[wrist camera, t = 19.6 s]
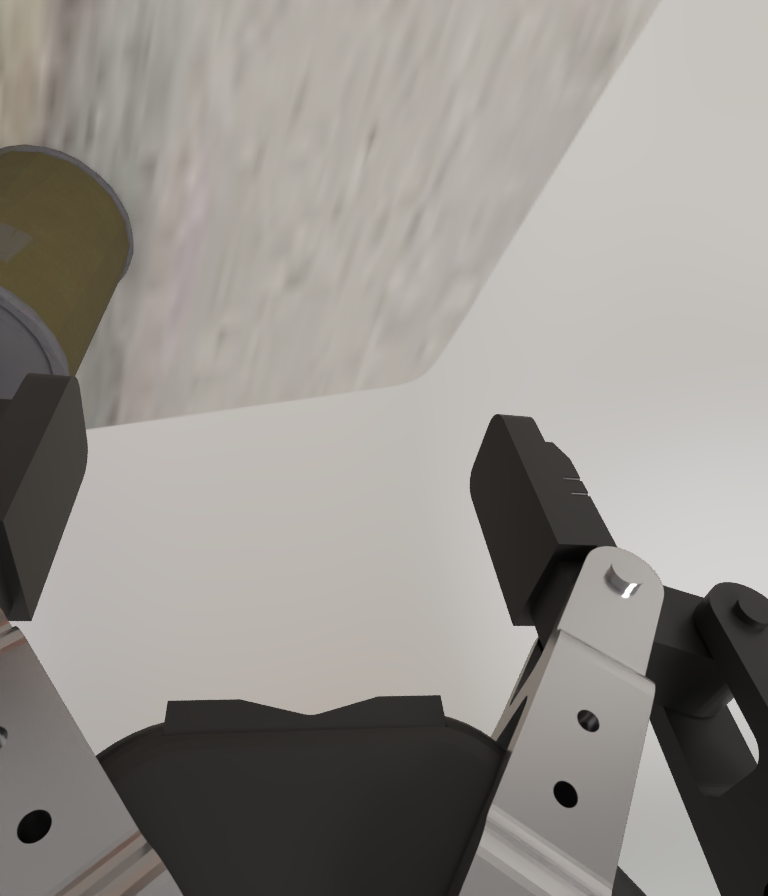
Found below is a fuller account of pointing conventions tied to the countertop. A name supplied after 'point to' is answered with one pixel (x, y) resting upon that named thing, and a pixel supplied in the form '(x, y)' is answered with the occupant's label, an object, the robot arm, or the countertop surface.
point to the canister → (54, 261)
